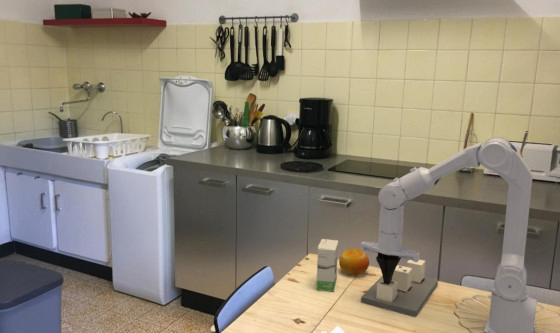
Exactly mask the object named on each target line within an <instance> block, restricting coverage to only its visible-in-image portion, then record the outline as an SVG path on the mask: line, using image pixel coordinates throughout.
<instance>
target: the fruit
mask: <svg viewBox="0 0 560 333" xmlns="http://www.w3.org/2000/svg"><path fill="white" fill-rule="evenodd" d="M338 260H339V261H338V263H339V264H338V265H339V267H340V270H342V271H343V272H344V273H345V274H347V275H350V276H360V275H362V274H365V273H366V272H367V271H368V269H369V266H370V259H369V257H368V255H367V254H366V252H365V251H361V249H359V248H349V249H346V250H345V251H343V252H342V253H341V255H340V257H339V258H338Z"/></svg>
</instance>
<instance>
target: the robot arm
mask: <svg viewBox="0 0 560 333" xmlns="http://www.w3.org/2000/svg"><path fill="white" fill-rule="evenodd" d="M481 165H482V167H484V168H485V169H487V170H489V171H491V172H493V173H495V174H497V175H498V176H500V177H501V179H503V180H504V181H505V182H506V183H507V184H508V188H507V196H506V197H507V199H506V211H505V220H504V230H503V232H504V233H503V241H502V250H501V251H502V252H501V259H500V263H499V264H498V265H497V267H496V275H495V278H494V281H493V286H492V288H491V294H490V295H491V297H490V305H489V306H490V307H489V314H488V316H489V317H488V319H487V322H486V324H485V327H484V329H483V330H484V331H483V332H484V333H535V332H536V328H537V327H536V325H537V324H535V321H536V313H537V304H538V300H537V299H535V298H532V297H530V296H529V295H528V292H527V278H528V272H527V271H528V270H527V267H526V266H525V255H526V245H527V244H526V243H527V236H528V235H527V234H528V225H529V214H530V207H531V206H530V205H531V196H532V186H533V185H532V184H533V173H532V170H531V168H530V167H529V166H528V165H527V163H526V161H525V159H524V158H523V156H522V154H521V153H520V151H519V150H518V148H517V146H516V145H515V144H513V143H512V142H511V141H509V140H508V139H507V138H504V137H502V136H494V137H491V138H489V139H488V140H486V141H485V142H484V141H481V142H478V143H476V144H475V143H474V145H471V146H468V147H465V148H464V149H461V150H460V151H458V152H457V153H455V154H453V155H451V156H449V157H447V158H446V159H445V160H443V161H440V162H439V163H437V164H435V165H433V166H432V167H430V168H427V167H423V166H420V167H418V168H417V167H416V166H415V167H412V168H411V169H410V170H409V171H410V172H408V173H407V174H405V175H403V176H402V177H400V178H399V177H395V178H394V179H392V181H391V182H389V183H388V184H385V186H383V187H382V188H381V189H380V190H379V192H378V196H377V198H378V202H379V204H380V211H379V221H378V222H379V223H378V242H370V241H362V242H361V243H360V250H361V251H363V252H365V251H367V252H371V253H375V254H377V256H376V258H375V260H376V261H377V264H378V266H379V268H380V271H381V277H382V276H383V282H384V283H385V284H390V283H391V280H392V276H393V273H394V271H395V268H396V266H397V265H399V262H400V261H401V259H404V260H405V259H406V260H408V261H409V260H413V262H418V261H419V260H420V255H421V253H420V252H418V251H415V250H413V249H409V248H405V247H403V246H402V244H403V230H404V217H405V216H404V214H405V213H404V211H405V209H404V208H405V204H404V203H405V202H406V201H411V200H413V199H414V198H417V197H418V196H420V195H423V194H424V193H426V192H428V191H430V190H432V189H433V188H434V186H435V184H436V183H435V182H436V181H437V180H440V179H442V178H444V177H446V176H449V175H450V174H453V173H455V172H457V171H459V170H461V169H462V168H464V167H470V168H480V166H481Z"/></svg>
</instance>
